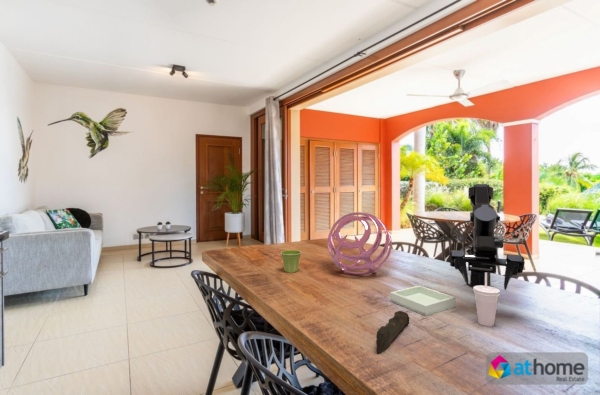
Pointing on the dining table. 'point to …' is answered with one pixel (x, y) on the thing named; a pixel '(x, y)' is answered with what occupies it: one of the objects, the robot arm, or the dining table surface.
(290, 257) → the plant pot
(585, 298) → the dining table surface
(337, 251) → the pink openwork sphere
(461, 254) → the robot arm
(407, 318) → the hand tool
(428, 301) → the sage tray
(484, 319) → the smoothie
